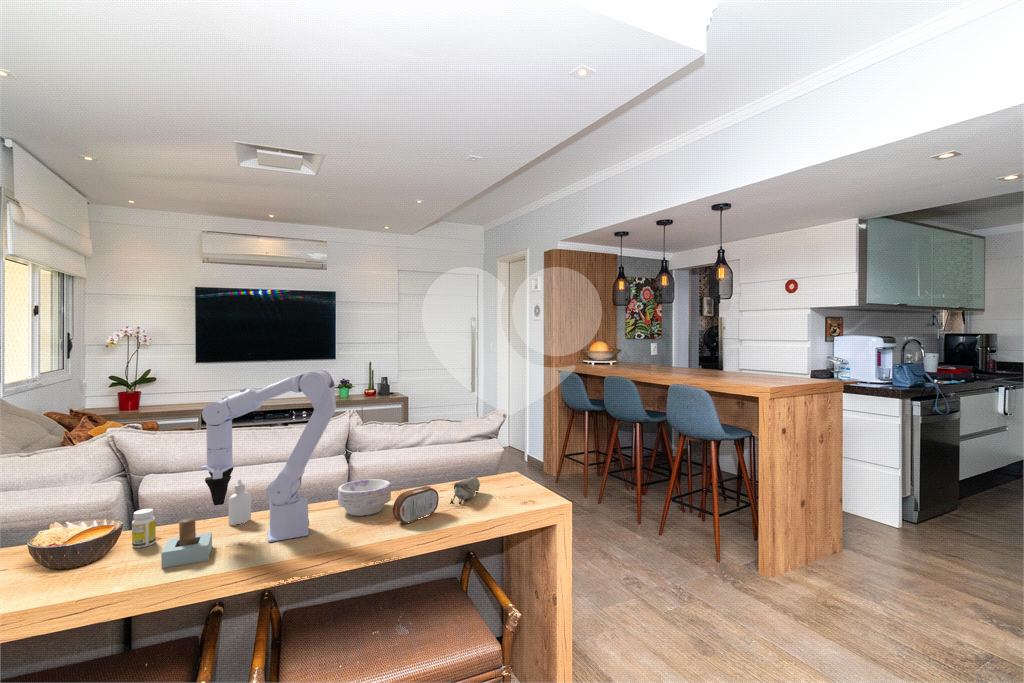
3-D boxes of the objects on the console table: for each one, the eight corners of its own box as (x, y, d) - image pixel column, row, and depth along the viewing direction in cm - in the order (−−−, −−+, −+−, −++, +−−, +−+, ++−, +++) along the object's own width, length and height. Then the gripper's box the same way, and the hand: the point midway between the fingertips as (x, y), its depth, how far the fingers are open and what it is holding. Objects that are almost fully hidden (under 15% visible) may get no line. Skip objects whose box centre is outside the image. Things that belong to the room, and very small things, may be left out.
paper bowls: (364, 500, 158) (364, 475, 158) (401, 507, 151) (401, 481, 151) (326, 515, 145) (326, 488, 145) (365, 523, 138) (364, 495, 138)
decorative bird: (484, 493, 165) (484, 471, 165) (463, 509, 149) (462, 484, 149) (469, 492, 166) (469, 469, 166) (447, 507, 151) (446, 483, 151)
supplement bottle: (152, 539, 128) (152, 506, 128) (158, 543, 125) (157, 510, 125) (129, 545, 124) (129, 511, 124) (135, 550, 121) (134, 515, 121)
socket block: (212, 546, 123) (211, 532, 123) (208, 560, 115) (208, 545, 115) (168, 553, 119) (168, 538, 119) (161, 568, 111) (161, 552, 111)
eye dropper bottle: (228, 522, 140) (227, 479, 140) (250, 518, 143) (250, 476, 143) (229, 527, 136) (228, 483, 136) (252, 522, 139) (251, 480, 139)
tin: (433, 510, 148) (433, 482, 148) (440, 513, 146) (440, 484, 146) (391, 525, 136) (391, 494, 136) (398, 528, 134) (398, 497, 134)
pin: (197, 550, 119) (196, 517, 119) (194, 555, 116) (193, 521, 116) (181, 553, 118) (180, 519, 118) (178, 558, 115) (177, 524, 115)
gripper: (204, 444, 133) (205, 494, 133) (197, 454, 120) (198, 511, 120) (234, 441, 136) (235, 491, 136) (231, 451, 123) (232, 506, 123)
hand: (220, 500), depth 128 cm, fingers open, 7 cm apart
